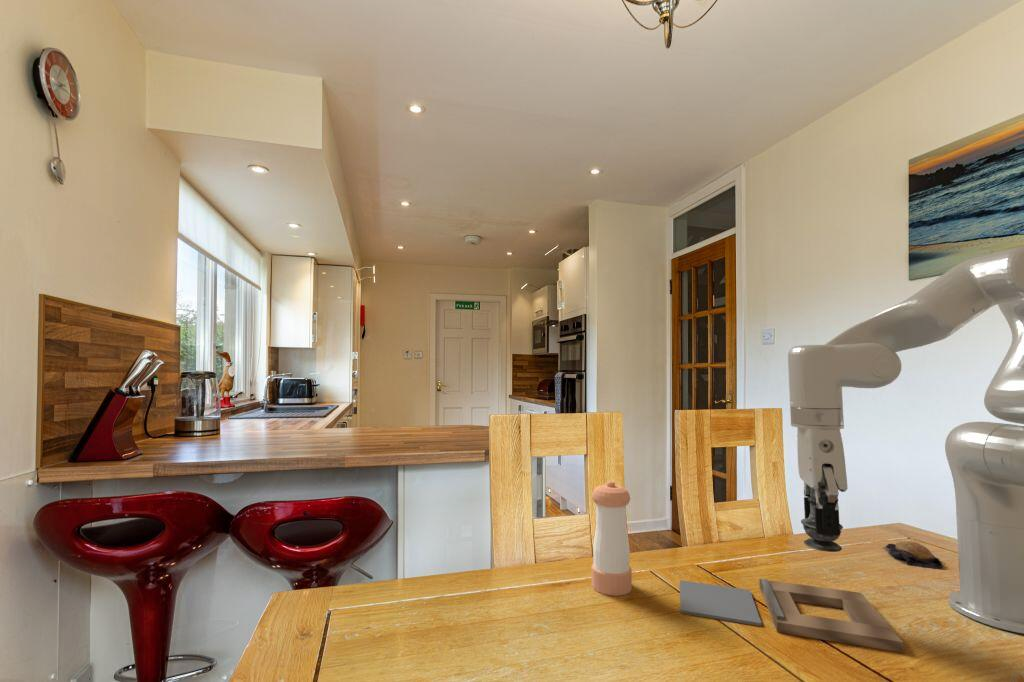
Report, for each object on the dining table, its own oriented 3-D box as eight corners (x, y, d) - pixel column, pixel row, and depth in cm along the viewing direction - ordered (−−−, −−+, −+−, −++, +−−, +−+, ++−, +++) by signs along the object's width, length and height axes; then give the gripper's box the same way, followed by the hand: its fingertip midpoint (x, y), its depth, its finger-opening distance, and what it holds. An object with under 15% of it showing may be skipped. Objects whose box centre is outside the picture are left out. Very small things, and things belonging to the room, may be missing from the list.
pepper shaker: (639, 591, 86) (638, 484, 87) (605, 598, 83) (604, 487, 84) (616, 575, 92) (616, 476, 94) (584, 581, 90) (584, 478, 91)
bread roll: (879, 550, 109) (878, 533, 109) (924, 554, 106) (923, 537, 106) (900, 567, 99) (899, 549, 99) (950, 573, 96) (949, 554, 96)
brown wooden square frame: (861, 601, 83) (861, 589, 83) (903, 652, 68) (902, 638, 68) (759, 587, 88) (759, 576, 88) (777, 632, 73) (776, 618, 73)
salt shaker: (831, 540, 81) (827, 468, 82) (852, 553, 75) (848, 476, 76) (795, 539, 82) (791, 468, 82) (813, 552, 76) (809, 475, 77)
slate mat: (749, 592, 86) (749, 589, 86) (761, 626, 74) (761, 623, 74) (679, 582, 90) (679, 580, 90) (680, 613, 78) (680, 610, 78)
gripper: (861, 424, 70) (868, 548, 69) (826, 414, 87) (831, 514, 86) (804, 423, 73) (809, 543, 72) (780, 413, 89) (784, 511, 88)
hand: (821, 526), depth 79 cm, fingers closed on salt shaker, 5 cm apart
